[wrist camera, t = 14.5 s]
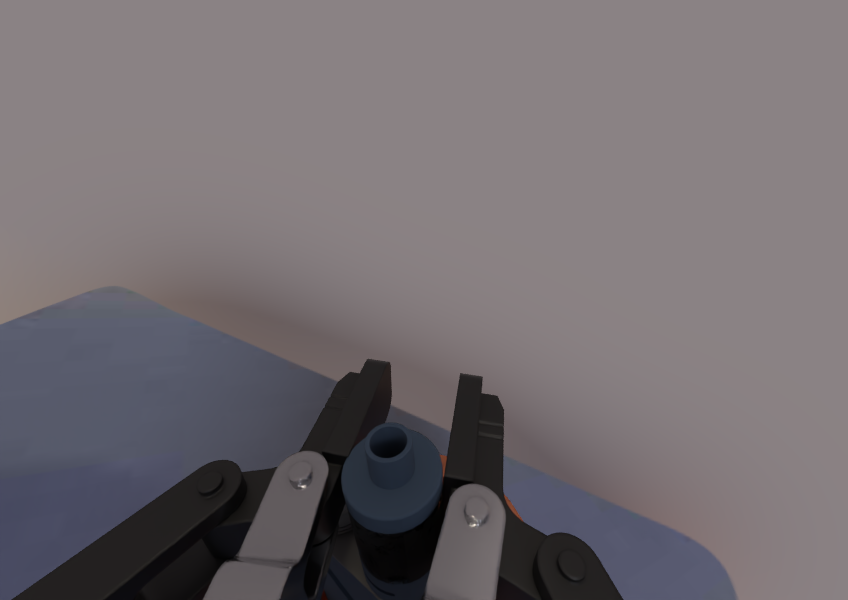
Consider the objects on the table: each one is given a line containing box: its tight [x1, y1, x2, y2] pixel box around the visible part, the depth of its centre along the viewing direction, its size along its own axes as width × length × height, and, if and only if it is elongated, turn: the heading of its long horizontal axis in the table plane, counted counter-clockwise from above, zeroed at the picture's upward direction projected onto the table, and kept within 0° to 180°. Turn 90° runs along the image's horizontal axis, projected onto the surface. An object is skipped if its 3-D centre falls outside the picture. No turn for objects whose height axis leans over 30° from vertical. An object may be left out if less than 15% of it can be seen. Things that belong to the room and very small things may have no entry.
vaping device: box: [324, 423, 444, 600], centre depth 12 cm, size 3×5×12 cm, turn 54°
